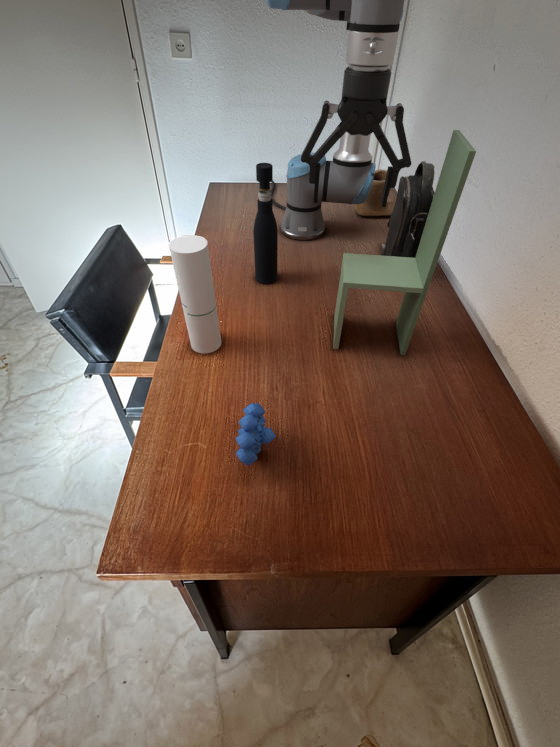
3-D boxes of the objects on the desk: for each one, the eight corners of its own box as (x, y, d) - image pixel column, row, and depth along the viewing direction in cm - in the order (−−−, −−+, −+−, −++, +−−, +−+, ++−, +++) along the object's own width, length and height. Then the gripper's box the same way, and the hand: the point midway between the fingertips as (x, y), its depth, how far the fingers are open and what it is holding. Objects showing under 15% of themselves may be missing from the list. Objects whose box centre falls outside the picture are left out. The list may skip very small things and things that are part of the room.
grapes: (270, 485, 63) (269, 446, 54) (231, 479, 64) (225, 440, 55) (281, 429, 71) (282, 388, 62) (246, 424, 72) (243, 383, 63)
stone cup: (356, 221, 135) (364, 176, 124) (353, 207, 143) (359, 165, 132) (398, 221, 134) (409, 177, 124) (392, 208, 143) (401, 165, 132)
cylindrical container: (209, 329, 91) (192, 231, 73) (227, 343, 88) (215, 244, 70) (185, 343, 88) (161, 243, 70) (203, 357, 84) (183, 257, 66)
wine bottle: (274, 285, 105) (274, 170, 83) (253, 282, 106) (247, 168, 84) (279, 273, 109) (280, 161, 88) (258, 271, 110) (254, 159, 89)
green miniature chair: (334, 317, 95) (361, 125, 65) (399, 323, 94) (459, 129, 63) (333, 348, 87) (364, 145, 56) (405, 355, 86) (476, 151, 55)
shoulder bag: (417, 284, 106) (451, 180, 86) (385, 281, 107) (411, 177, 87) (409, 246, 122) (436, 150, 101) (381, 244, 122) (402, 149, 102)
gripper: (288, 68, 58) (285, 206, 73) (453, 73, 56) (414, 213, 71) (293, 61, 63) (289, 191, 78) (444, 65, 61) (409, 198, 76)
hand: (349, 202), depth 75 cm, fingers open, 13 cm apart
